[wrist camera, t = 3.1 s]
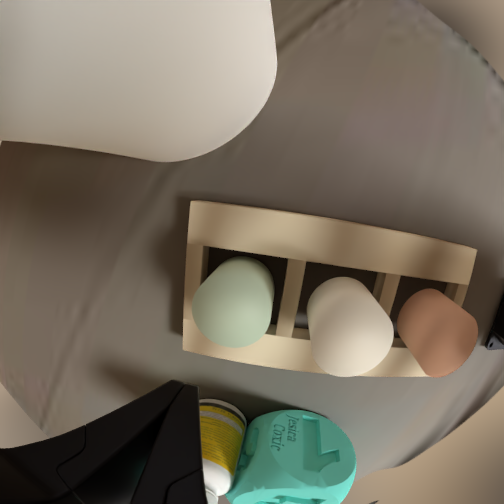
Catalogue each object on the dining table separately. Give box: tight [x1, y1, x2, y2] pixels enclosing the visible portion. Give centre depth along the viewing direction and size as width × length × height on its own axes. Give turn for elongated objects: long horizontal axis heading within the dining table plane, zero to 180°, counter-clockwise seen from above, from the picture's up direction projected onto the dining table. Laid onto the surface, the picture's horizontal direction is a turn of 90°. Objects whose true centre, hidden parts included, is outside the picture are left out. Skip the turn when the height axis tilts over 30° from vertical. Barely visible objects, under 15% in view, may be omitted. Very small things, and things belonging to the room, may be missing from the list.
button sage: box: [192, 256, 275, 348], centre depth 15 cm, size 4×4×4 cm
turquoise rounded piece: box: [225, 410, 356, 504], centre depth 16 cm, size 8×8×8 cm
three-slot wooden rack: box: [183, 200, 477, 377], centre depth 16 cm, size 19×10×2 cm, turn 83°
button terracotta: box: [397, 289, 478, 377], centre depth 13 cm, size 4×4×4 cm
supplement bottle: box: [199, 399, 247, 504], centre depth 16 cm, size 5×5×10 cm
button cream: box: [307, 277, 394, 377], centre depth 13 cm, size 4×4×4 cm
